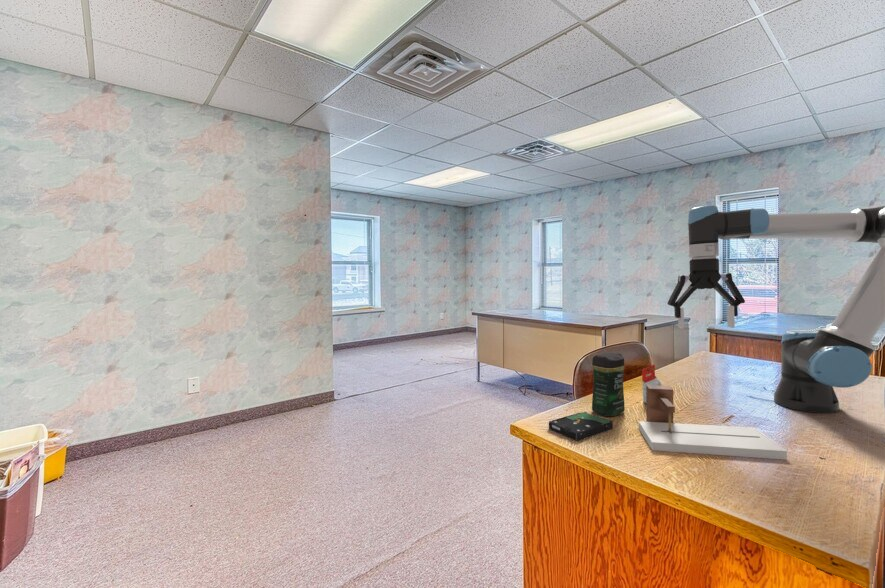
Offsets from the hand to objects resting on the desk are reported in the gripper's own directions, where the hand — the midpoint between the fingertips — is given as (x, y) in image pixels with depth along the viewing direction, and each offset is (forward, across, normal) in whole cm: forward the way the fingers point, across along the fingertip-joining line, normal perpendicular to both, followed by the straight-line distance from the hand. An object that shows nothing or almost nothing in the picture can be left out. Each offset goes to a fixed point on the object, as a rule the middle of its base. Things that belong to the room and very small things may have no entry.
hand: (705, 327), depth 122 cm
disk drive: (+25, -40, -20) cm, 51 cm away
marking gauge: (+25, -18, -19) cm, 36 cm away
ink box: (+26, -13, +8) cm, 30 cm away
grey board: (+26, -10, -25) cm, 37 cm away
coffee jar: (+25, -30, -5) cm, 39 cm away
